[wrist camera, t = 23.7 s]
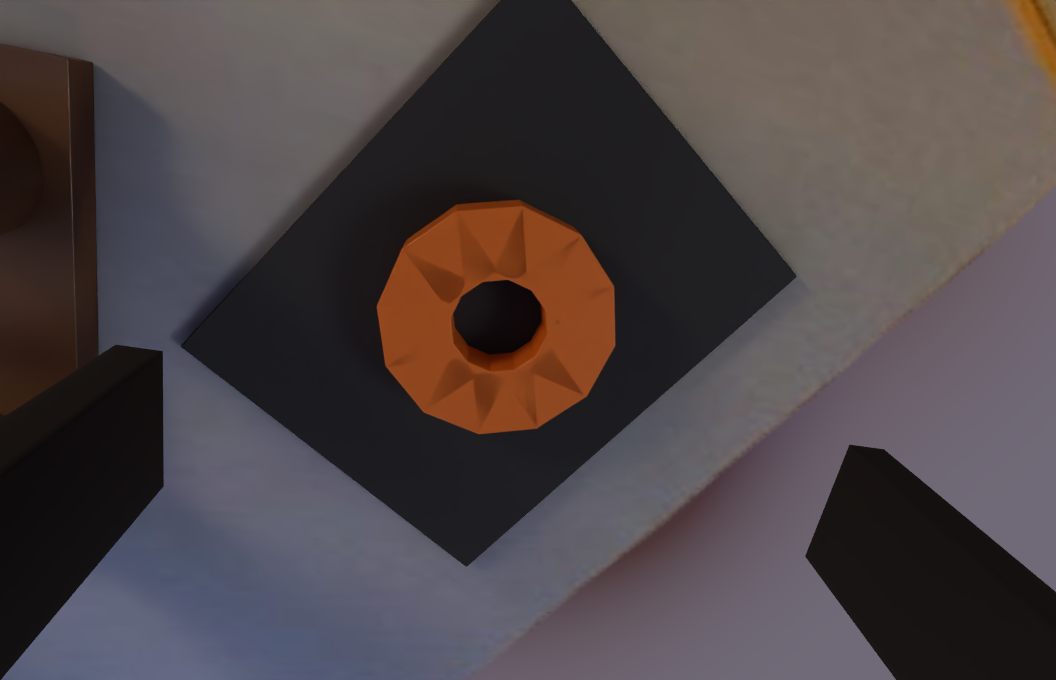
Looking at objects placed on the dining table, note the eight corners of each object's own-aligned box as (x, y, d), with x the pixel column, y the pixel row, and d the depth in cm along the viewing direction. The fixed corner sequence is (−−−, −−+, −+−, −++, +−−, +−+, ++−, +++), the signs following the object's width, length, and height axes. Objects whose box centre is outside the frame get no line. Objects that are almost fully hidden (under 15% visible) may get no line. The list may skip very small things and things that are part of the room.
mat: (536, -37, 22) (538, -41, 22) (791, 273, 27) (797, 276, 27) (185, 342, 26) (180, 346, 25) (466, 560, 30) (466, 567, 30)
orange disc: (527, 154, 24) (532, 157, 22) (643, 336, 27) (656, 352, 25) (339, 285, 25) (329, 298, 23) (471, 447, 28) (471, 471, 26)
